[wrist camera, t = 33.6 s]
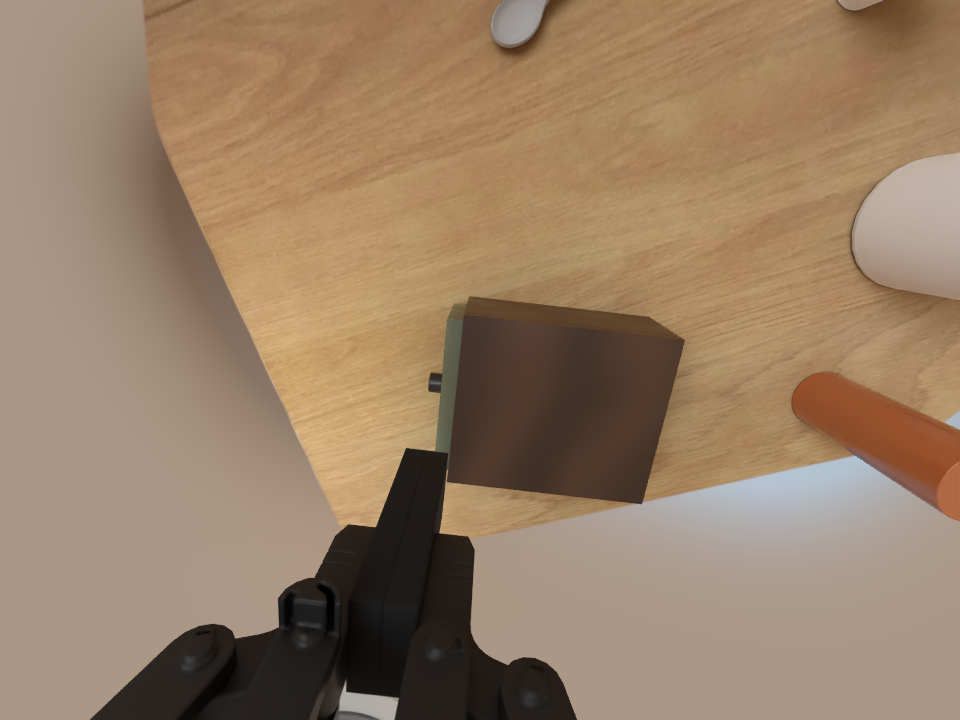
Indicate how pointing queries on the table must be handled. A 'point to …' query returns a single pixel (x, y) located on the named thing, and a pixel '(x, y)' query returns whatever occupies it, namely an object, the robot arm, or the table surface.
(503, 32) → the spoon
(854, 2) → the cup
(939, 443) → the orange cylindrical post
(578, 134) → the table surface
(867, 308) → the table surface
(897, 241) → the mug
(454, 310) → the drawer
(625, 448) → the cabinet
